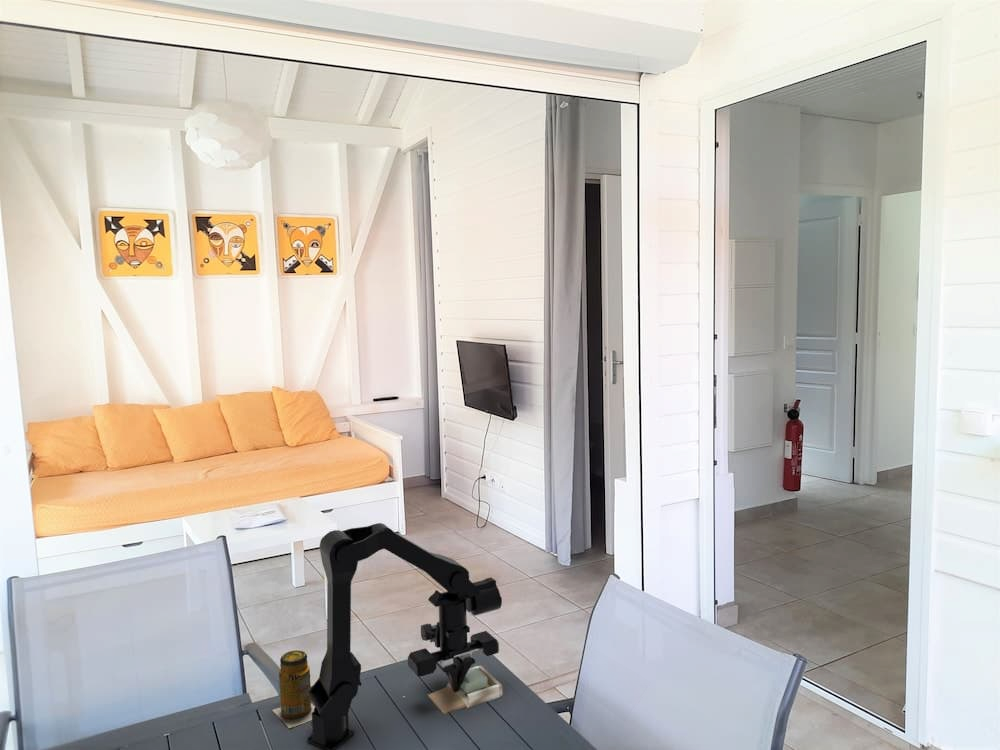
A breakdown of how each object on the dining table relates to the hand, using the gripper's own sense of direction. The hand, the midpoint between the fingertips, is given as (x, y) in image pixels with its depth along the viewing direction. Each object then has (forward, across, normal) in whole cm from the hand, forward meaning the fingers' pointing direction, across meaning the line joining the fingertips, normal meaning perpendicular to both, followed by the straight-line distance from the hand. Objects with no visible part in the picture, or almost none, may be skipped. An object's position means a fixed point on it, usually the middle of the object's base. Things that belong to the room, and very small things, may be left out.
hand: (455, 691), depth 152 cm
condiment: (+2, +30, -12) cm, 32 cm away
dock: (+2, -2, 0) cm, 3 cm away
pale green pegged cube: (+1, -4, 0) cm, 4 cm away
